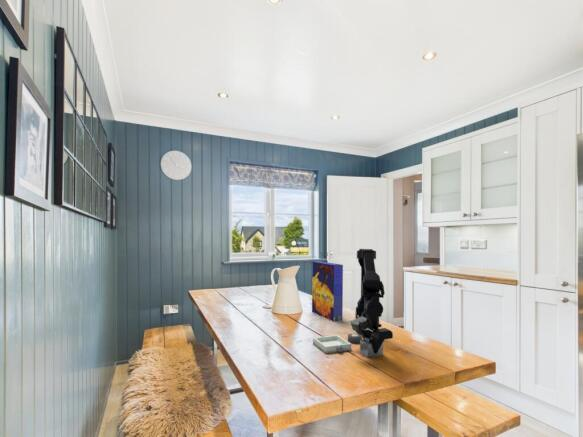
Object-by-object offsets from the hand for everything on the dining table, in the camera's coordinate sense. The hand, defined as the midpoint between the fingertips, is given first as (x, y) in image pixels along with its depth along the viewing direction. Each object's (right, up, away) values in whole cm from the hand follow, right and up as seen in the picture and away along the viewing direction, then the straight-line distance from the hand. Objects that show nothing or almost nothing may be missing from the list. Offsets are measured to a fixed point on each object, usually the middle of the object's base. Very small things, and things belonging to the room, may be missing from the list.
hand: (371, 350), depth 126 cm
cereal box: (-11, -4, +57) cm, 58 cm away
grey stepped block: (0, -1, 0) cm, 1 cm away
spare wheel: (-4, -2, +15) cm, 15 cm away
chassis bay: (-15, -1, +7) cm, 16 cm away
